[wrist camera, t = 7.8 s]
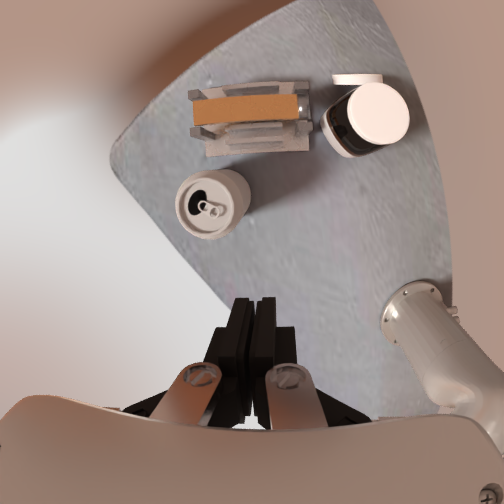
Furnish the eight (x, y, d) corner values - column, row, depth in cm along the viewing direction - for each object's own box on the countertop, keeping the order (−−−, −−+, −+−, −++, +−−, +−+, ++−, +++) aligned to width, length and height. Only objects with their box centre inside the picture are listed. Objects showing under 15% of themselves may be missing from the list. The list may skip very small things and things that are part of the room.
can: (213, 160, 38) (187, 158, 26) (261, 183, 38) (254, 191, 27) (191, 206, 40) (159, 223, 29) (237, 230, 40) (221, 256, 29)
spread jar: (339, 166, 36) (364, 167, 25) (293, 99, 34) (300, 74, 23) (402, 127, 33) (442, 118, 22) (359, 64, 31) (385, 33, 20)
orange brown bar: (307, 96, 29) (310, 93, 27) (309, 120, 30) (312, 117, 28) (194, 103, 29) (192, 100, 27) (196, 126, 30) (193, 124, 28)
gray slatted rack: (303, 83, 33) (309, 63, 25) (308, 150, 36) (317, 146, 28) (204, 91, 35) (185, 74, 27) (208, 157, 38) (190, 155, 29)
